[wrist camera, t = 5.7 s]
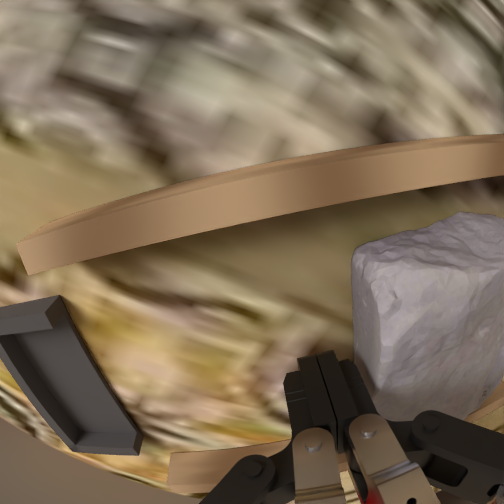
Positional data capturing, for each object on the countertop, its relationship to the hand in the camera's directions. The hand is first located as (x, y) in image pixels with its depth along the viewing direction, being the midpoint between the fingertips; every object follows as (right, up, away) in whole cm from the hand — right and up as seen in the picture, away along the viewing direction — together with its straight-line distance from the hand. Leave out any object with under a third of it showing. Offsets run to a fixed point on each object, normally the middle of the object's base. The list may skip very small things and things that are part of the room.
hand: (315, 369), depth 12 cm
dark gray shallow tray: (-13, -2, +2) cm, 13 cm away
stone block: (+7, +1, +2) cm, 7 cm away
